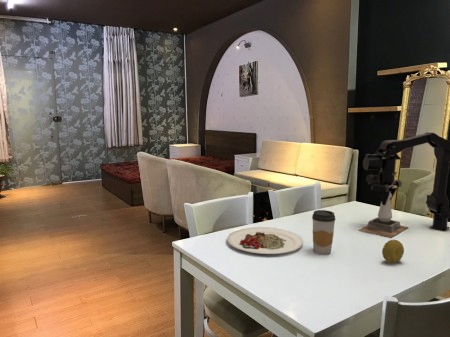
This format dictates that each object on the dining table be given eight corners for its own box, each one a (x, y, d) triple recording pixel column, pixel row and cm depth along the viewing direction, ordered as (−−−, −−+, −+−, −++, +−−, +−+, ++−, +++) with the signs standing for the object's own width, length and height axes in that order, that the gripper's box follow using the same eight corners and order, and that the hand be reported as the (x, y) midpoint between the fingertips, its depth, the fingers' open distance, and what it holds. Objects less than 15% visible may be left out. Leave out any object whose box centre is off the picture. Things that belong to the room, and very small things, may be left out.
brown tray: (377, 221, 172) (377, 214, 172) (408, 228, 162) (408, 220, 162) (358, 230, 158) (358, 222, 158) (390, 238, 148) (391, 230, 148)
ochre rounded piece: (396, 258, 127) (398, 236, 126) (405, 262, 123) (407, 240, 122) (378, 261, 124) (380, 239, 123) (387, 266, 121) (389, 243, 120)
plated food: (313, 239, 147) (313, 231, 147) (284, 264, 122) (285, 255, 122) (249, 227, 163) (249, 220, 163) (212, 247, 138) (212, 238, 138)
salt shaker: (393, 223, 156) (395, 193, 154) (379, 222, 157) (380, 193, 155) (389, 219, 162) (391, 191, 160) (376, 218, 163) (378, 190, 161)
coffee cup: (334, 249, 136) (336, 210, 134) (333, 257, 128) (335, 216, 126) (311, 246, 138) (313, 208, 136) (309, 254, 131) (311, 214, 129)
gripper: (378, 165, 168) (376, 198, 171) (360, 169, 155) (358, 204, 158) (403, 168, 161) (400, 202, 163) (386, 172, 148) (384, 209, 150)
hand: (385, 204), depth 159 cm, fingers closed on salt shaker, 4 cm apart
